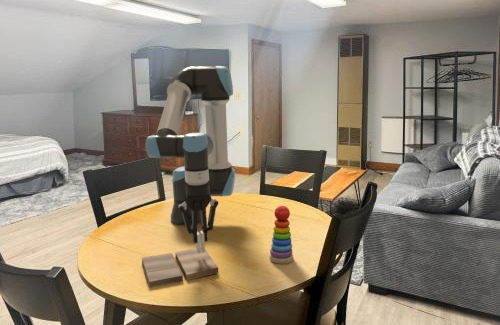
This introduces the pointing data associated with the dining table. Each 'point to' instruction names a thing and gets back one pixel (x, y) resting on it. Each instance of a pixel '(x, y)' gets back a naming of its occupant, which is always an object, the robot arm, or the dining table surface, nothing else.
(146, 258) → the panel
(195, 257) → the plank
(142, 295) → the dining table surface
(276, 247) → the stacking toy
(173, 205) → the robot arm
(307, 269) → the dining table surface
